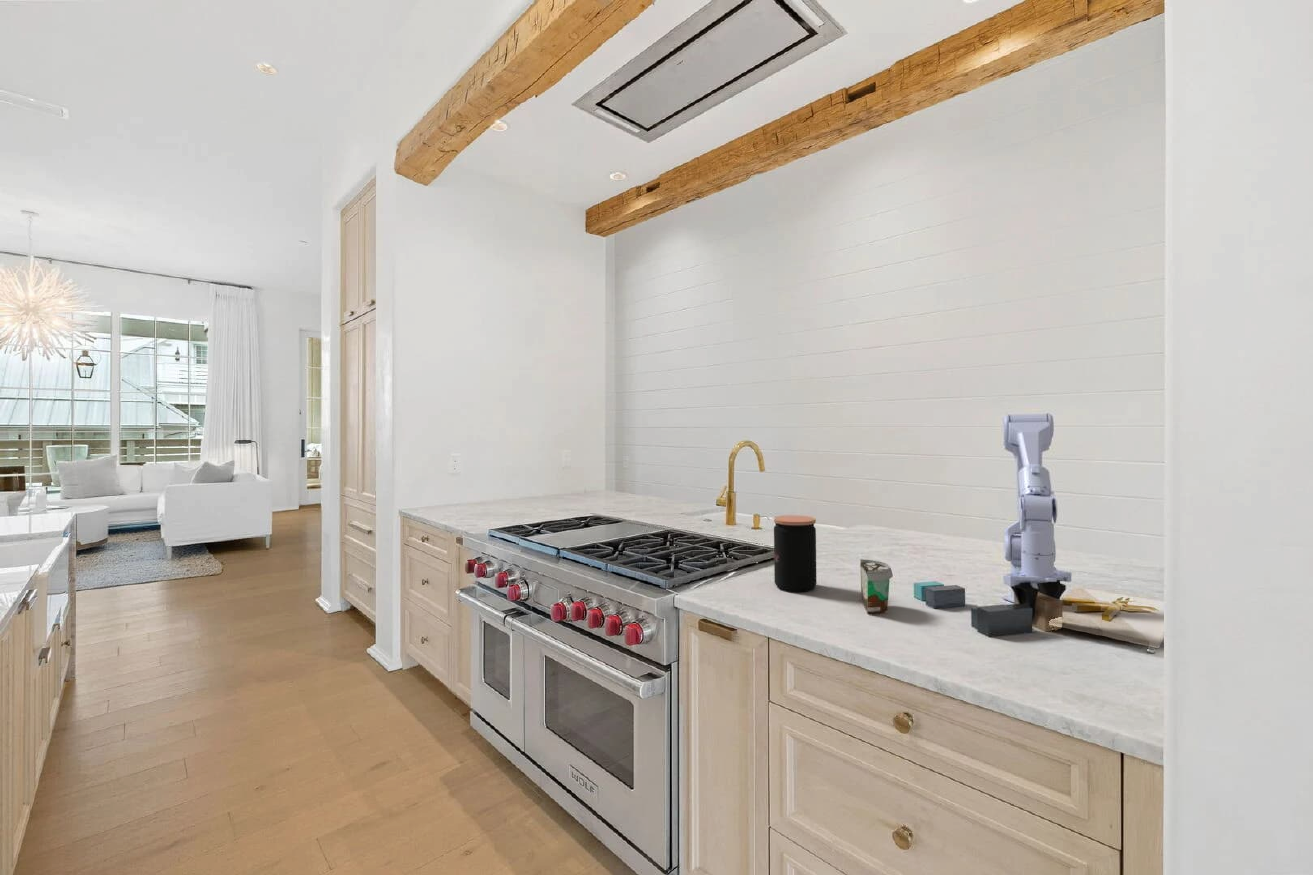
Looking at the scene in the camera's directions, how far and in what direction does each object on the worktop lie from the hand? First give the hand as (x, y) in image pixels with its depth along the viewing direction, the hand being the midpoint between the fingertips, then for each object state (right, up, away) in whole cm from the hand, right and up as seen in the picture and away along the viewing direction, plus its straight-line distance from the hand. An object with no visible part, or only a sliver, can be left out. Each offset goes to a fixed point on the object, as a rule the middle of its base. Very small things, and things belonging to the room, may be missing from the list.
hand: (1037, 617), depth 122 cm
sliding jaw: (-13, -1, +16) cm, 21 cm away
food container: (-29, -2, +12) cm, 31 cm away
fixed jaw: (-10, -2, -3) cm, 10 cm away
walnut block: (0, -1, 0) cm, 1 cm away
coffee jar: (-43, -2, +31) cm, 53 cm away
